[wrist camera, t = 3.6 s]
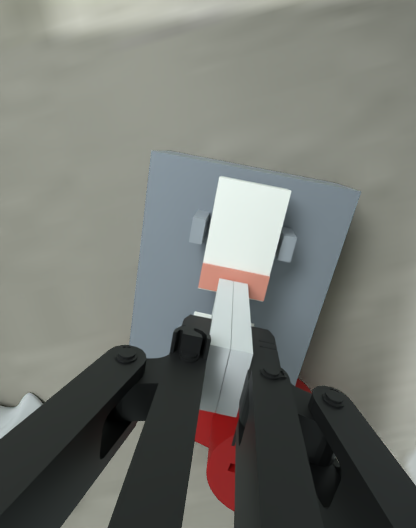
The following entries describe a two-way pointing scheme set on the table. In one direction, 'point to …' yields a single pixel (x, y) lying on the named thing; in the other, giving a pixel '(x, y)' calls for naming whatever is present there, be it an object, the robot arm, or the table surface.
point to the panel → (194, 244)
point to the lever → (222, 451)
